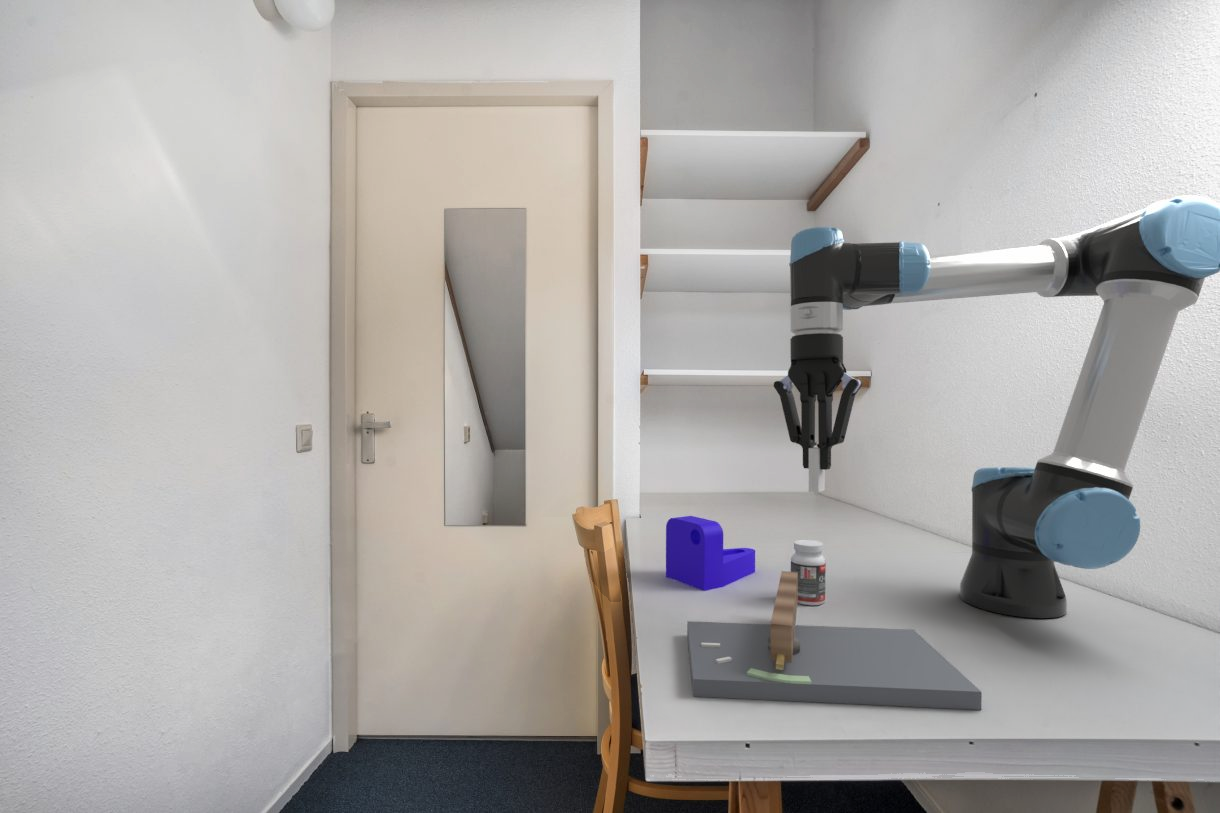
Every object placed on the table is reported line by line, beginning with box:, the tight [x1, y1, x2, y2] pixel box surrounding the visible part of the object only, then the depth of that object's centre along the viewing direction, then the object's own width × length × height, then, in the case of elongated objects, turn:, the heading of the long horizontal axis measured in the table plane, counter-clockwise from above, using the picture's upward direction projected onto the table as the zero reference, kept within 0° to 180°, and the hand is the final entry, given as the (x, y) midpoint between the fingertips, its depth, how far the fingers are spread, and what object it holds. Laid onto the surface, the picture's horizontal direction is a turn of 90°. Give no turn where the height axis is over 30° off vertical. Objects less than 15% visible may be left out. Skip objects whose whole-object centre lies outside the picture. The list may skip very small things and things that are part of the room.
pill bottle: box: [790, 539, 827, 606], centre depth 107 cm, size 6×6×10 cm
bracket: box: [665, 515, 756, 592], centre depth 122 cm, size 18×11×12 cm, turn 124°
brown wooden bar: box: [768, 570, 800, 670], centre depth 84 cm, size 28×4×5 cm, turn 162°
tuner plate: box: [686, 621, 983, 711], centre depth 80 cm, size 32×19×2 cm, turn 85°
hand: (816, 490), depth 95 cm, fingers closed
